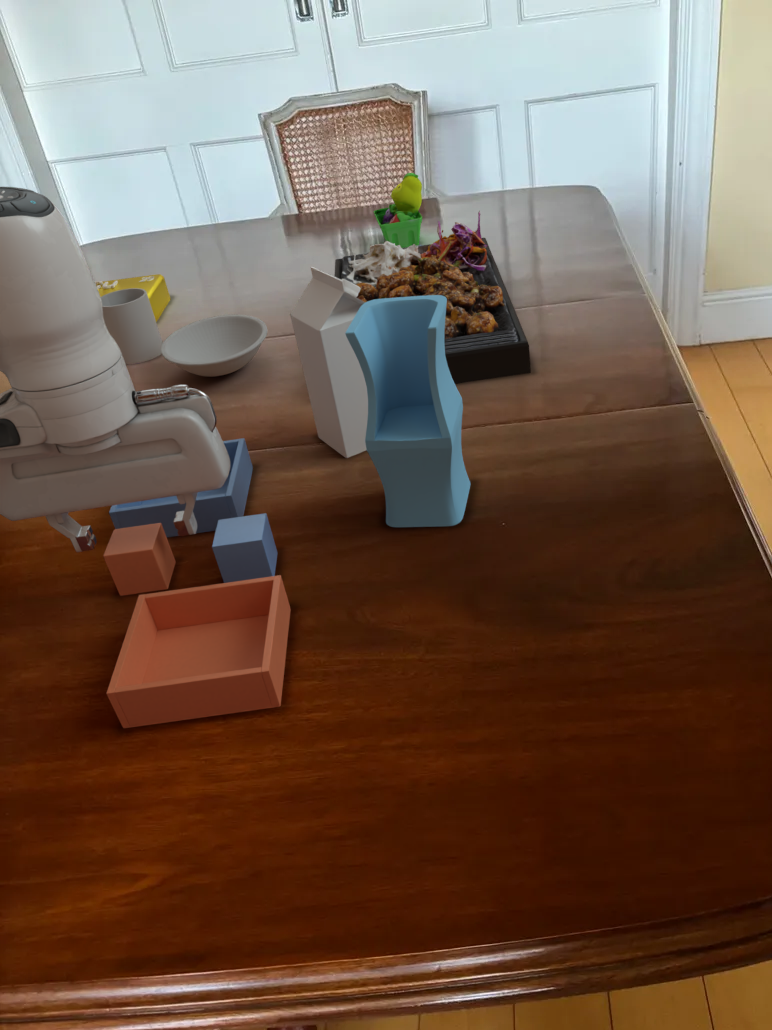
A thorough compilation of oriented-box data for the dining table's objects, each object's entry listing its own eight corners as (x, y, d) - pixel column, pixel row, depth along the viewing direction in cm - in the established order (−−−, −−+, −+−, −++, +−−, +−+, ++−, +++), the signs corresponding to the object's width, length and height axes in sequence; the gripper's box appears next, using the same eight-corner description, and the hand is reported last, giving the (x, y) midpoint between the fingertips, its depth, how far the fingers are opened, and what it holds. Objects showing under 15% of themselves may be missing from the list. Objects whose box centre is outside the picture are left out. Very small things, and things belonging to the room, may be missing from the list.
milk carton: (347, 462, 99) (310, 291, 87) (318, 440, 104) (280, 276, 92) (401, 439, 102) (373, 271, 90) (371, 419, 107) (340, 257, 95)
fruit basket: (377, 238, 166) (366, 173, 160) (423, 230, 167) (415, 164, 160) (384, 255, 157) (373, 187, 150) (433, 247, 158) (425, 178, 151)
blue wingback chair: (382, 532, 87) (344, 333, 75) (397, 489, 93) (363, 299, 81) (462, 530, 85) (436, 327, 73) (472, 487, 92) (449, 293, 79)
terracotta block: (121, 600, 83) (102, 556, 80) (131, 571, 87) (113, 528, 84) (169, 593, 83) (152, 549, 80) (177, 565, 87) (161, 522, 83)
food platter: (340, 286, 147) (327, 221, 140) (488, 265, 147) (482, 198, 140) (334, 404, 111) (317, 324, 105) (531, 376, 111) (525, 293, 105)
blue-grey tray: (122, 547, 90) (108, 512, 88) (146, 486, 100) (133, 453, 97) (242, 530, 90) (231, 495, 88) (254, 471, 100) (244, 437, 97)
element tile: (60, 342, 141) (49, 312, 138) (88, 309, 153) (77, 281, 150) (153, 330, 141) (144, 300, 138) (174, 298, 152) (165, 269, 149)
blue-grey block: (226, 591, 82) (211, 546, 79) (232, 563, 86) (218, 519, 83) (275, 584, 82) (261, 539, 79) (278, 556, 86) (266, 512, 83)
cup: (169, 358, 130) (149, 297, 125) (100, 377, 128) (77, 315, 122) (161, 343, 136) (142, 284, 130) (95, 360, 133) (72, 301, 128)
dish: (174, 359, 130) (163, 325, 127) (272, 340, 131) (264, 306, 128) (169, 409, 116) (157, 373, 113) (279, 387, 117) (270, 351, 114)
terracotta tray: (125, 732, 69) (105, 693, 66) (154, 632, 78) (138, 594, 76) (281, 711, 69) (268, 670, 66) (291, 613, 78) (280, 574, 76)
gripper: (210, 365, 76) (253, 504, 84) (-27, 403, 76) (40, 537, 84) (199, 397, 71) (246, 541, 79) (-54, 437, 71) (19, 576, 79)
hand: (138, 539), depth 82 cm, fingers open, 8 cm apart
